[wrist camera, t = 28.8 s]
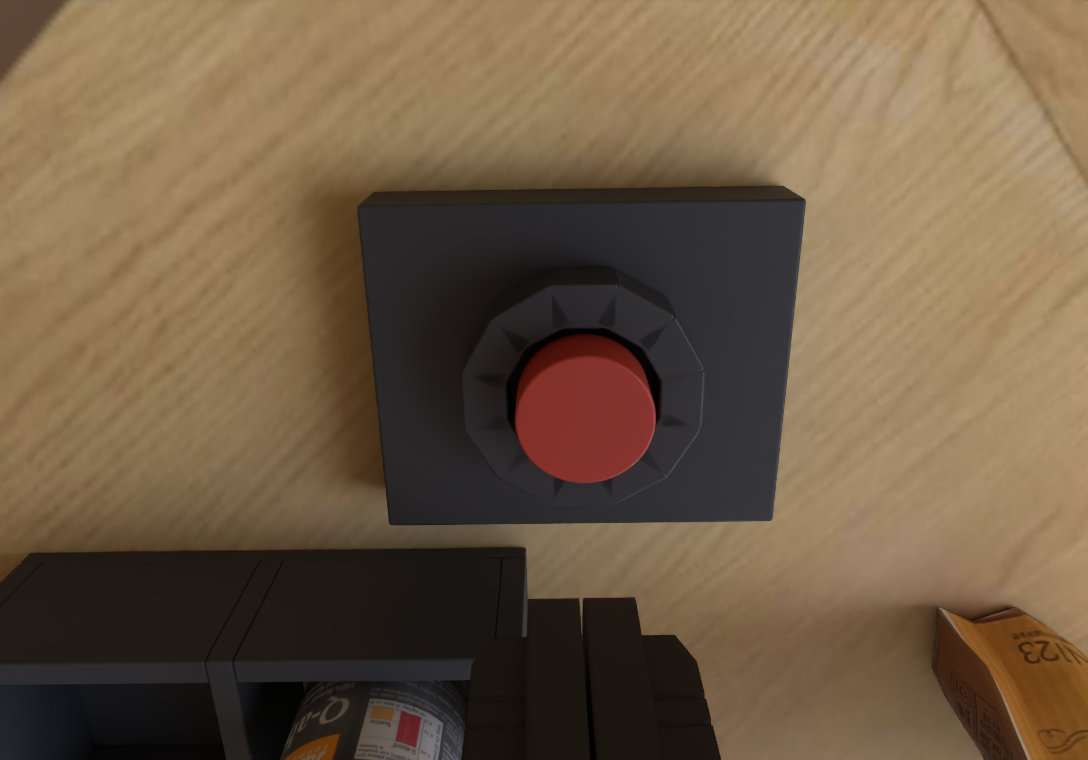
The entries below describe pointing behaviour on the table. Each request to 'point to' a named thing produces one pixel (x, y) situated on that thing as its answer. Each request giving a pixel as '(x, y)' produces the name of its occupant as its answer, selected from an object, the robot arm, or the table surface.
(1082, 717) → the pancake mix bag
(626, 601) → the robot arm
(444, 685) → the pill bottle
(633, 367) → the button
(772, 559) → the table surface
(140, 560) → the black divided tray
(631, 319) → the block
